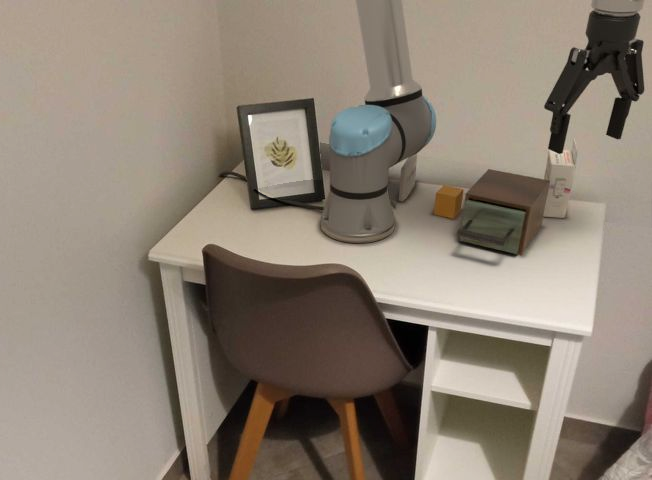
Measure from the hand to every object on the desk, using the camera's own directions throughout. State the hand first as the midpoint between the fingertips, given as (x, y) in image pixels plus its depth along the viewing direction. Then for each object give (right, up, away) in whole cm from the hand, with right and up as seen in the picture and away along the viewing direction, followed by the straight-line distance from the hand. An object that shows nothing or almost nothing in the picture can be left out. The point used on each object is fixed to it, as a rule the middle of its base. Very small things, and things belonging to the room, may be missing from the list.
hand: (584, 144), depth 123 cm
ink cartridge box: (+4, -6, +29) cm, 30 cm away
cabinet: (-9, -12, +21) cm, 26 cm away
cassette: (-25, 0, +38) cm, 46 cm away
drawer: (-12, -14, +16) cm, 25 cm away
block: (-18, -6, +29) cm, 35 cm away
